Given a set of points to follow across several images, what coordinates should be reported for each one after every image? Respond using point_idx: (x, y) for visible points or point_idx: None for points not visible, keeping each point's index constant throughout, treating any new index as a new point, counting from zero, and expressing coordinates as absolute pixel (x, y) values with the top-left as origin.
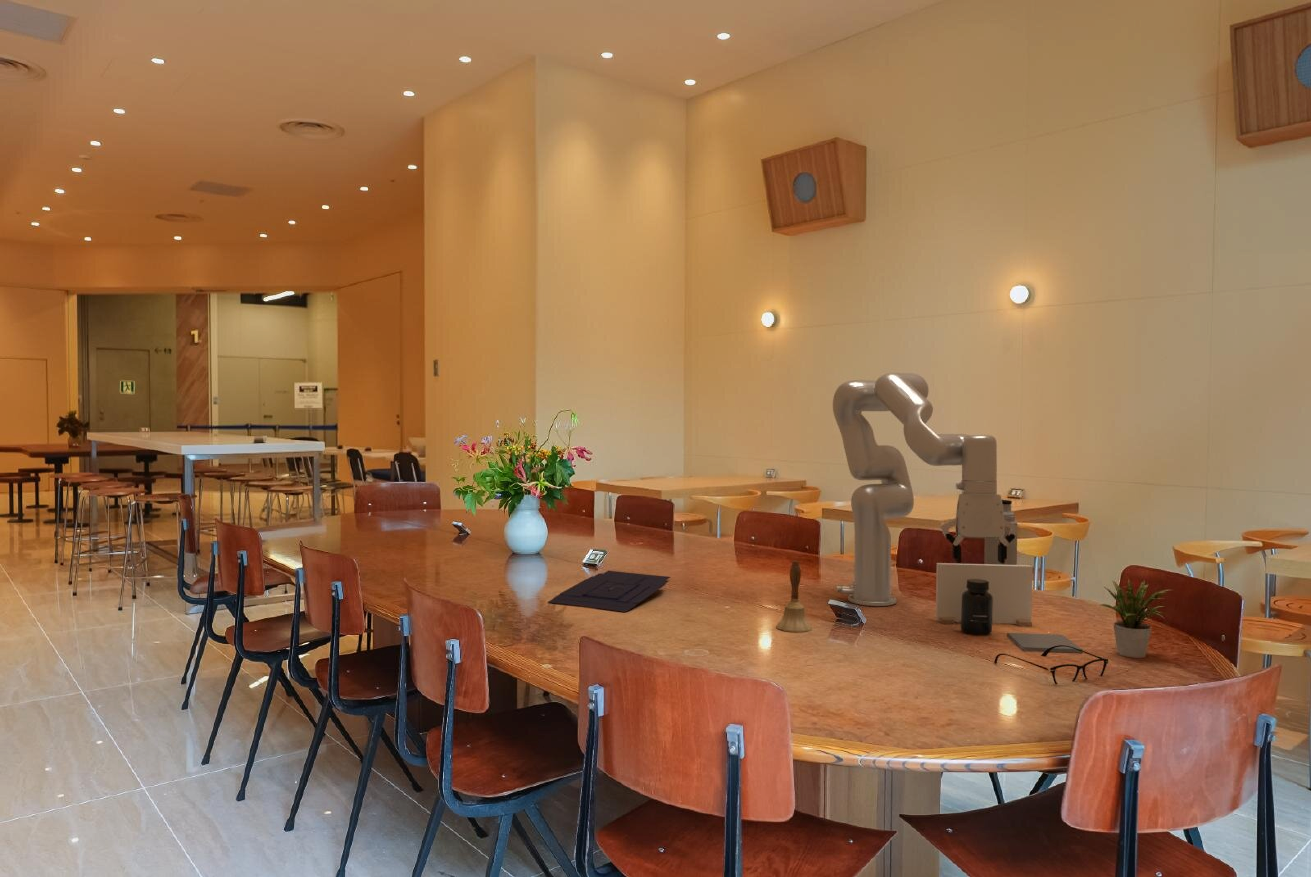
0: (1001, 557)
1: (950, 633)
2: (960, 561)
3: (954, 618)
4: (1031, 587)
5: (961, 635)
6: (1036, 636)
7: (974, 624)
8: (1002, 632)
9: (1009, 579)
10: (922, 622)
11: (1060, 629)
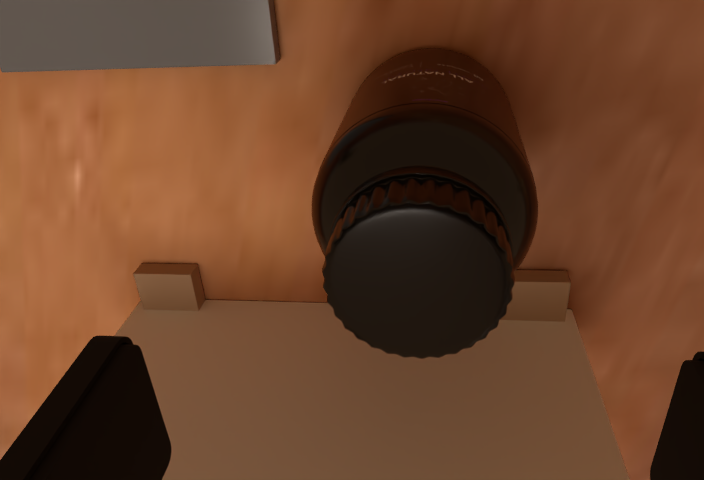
0: (100, 392)
1: (589, 73)
2: (702, 363)
3: None
4: None
5: (537, 36)
6: (128, 2)
7: (461, 65)
8: (291, 140)
9: None
10: (660, 283)
11: (26, 231)
